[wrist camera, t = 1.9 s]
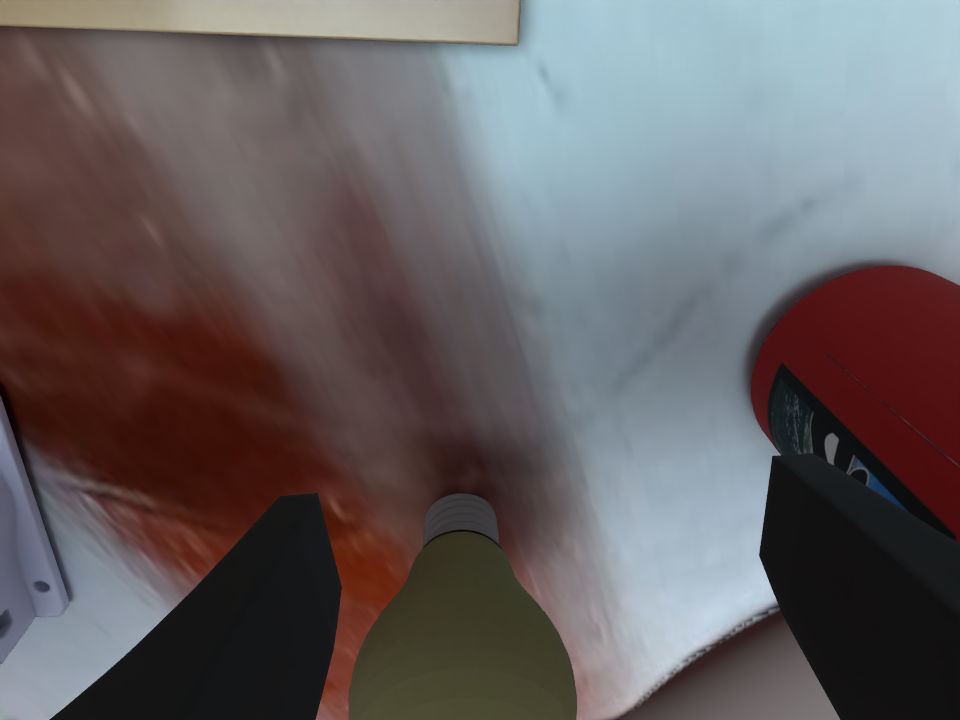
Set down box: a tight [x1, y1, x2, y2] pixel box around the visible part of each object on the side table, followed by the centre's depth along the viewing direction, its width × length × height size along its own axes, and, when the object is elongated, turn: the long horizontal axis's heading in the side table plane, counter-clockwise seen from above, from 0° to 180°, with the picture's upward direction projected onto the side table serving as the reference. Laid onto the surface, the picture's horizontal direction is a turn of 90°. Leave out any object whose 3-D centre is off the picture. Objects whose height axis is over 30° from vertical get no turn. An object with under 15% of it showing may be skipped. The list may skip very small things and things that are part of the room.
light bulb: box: [349, 493, 577, 720], centre depth 18 cm, size 6×6×10 cm
